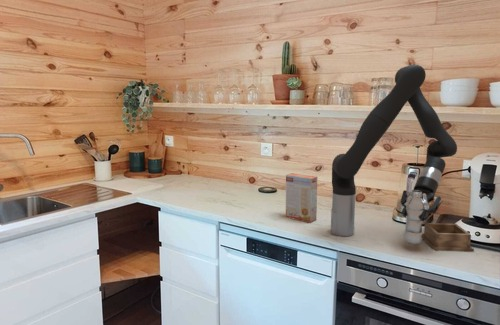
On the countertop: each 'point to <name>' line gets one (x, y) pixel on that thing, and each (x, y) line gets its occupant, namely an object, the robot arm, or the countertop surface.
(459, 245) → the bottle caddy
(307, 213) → the cracker box
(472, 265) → the countertop surface
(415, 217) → the plastic bottle
